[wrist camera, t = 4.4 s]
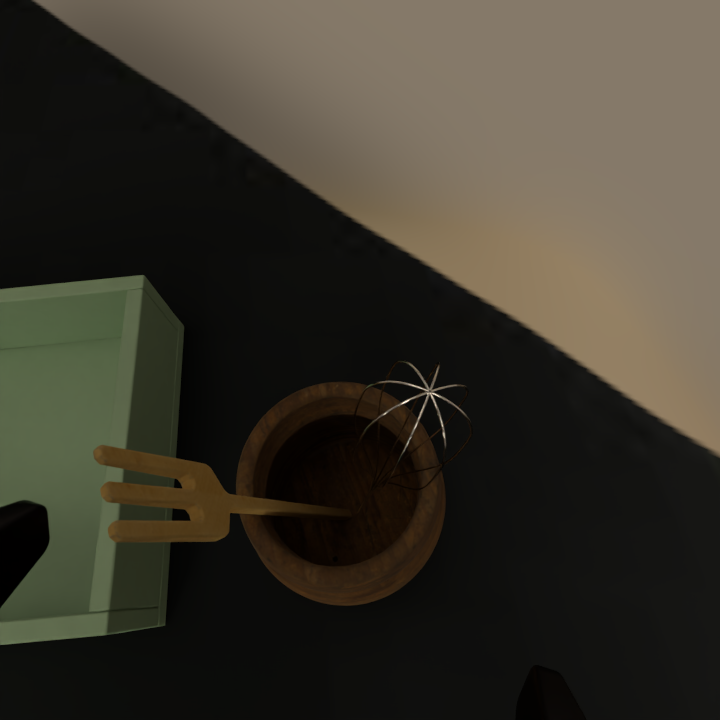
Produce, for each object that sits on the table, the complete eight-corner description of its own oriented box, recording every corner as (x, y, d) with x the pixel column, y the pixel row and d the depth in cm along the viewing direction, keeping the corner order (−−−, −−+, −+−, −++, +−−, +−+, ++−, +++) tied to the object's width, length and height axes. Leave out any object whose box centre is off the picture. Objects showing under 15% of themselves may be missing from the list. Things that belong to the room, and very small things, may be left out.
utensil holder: (464, 560, 18) (582, 514, 7) (296, 636, 17) (140, 715, 6) (395, 412, 20) (406, 207, 9) (245, 474, 20) (68, 329, 9)
